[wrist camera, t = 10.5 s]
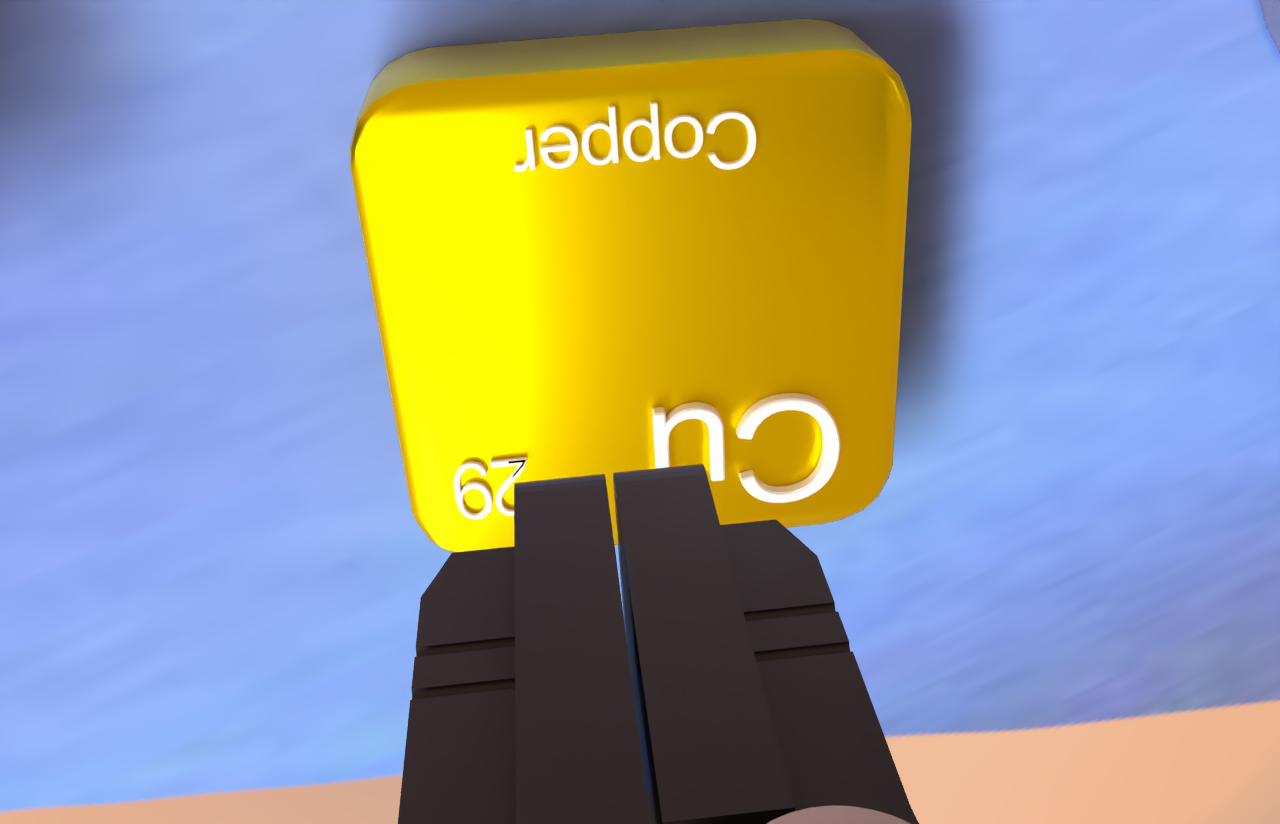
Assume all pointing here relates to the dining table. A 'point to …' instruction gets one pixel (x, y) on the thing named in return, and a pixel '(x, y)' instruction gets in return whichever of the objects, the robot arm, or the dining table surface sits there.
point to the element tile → (639, 266)
